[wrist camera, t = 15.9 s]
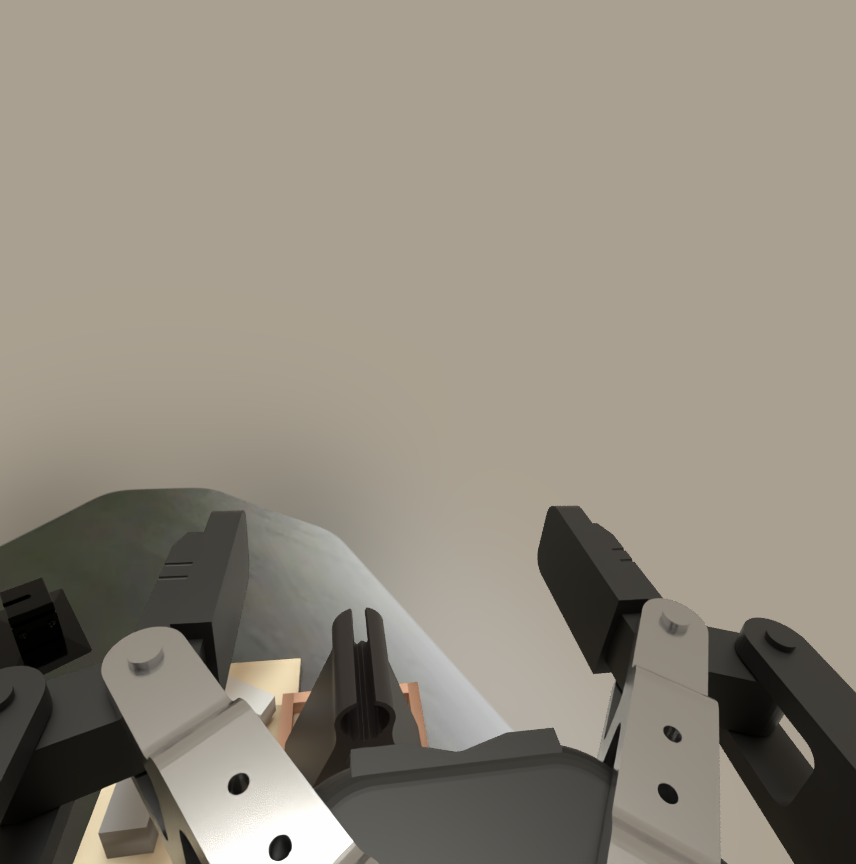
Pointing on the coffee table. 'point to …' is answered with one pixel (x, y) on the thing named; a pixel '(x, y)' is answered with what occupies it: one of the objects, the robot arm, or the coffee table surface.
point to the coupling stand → (252, 681)
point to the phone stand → (351, 704)
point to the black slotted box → (39, 628)
